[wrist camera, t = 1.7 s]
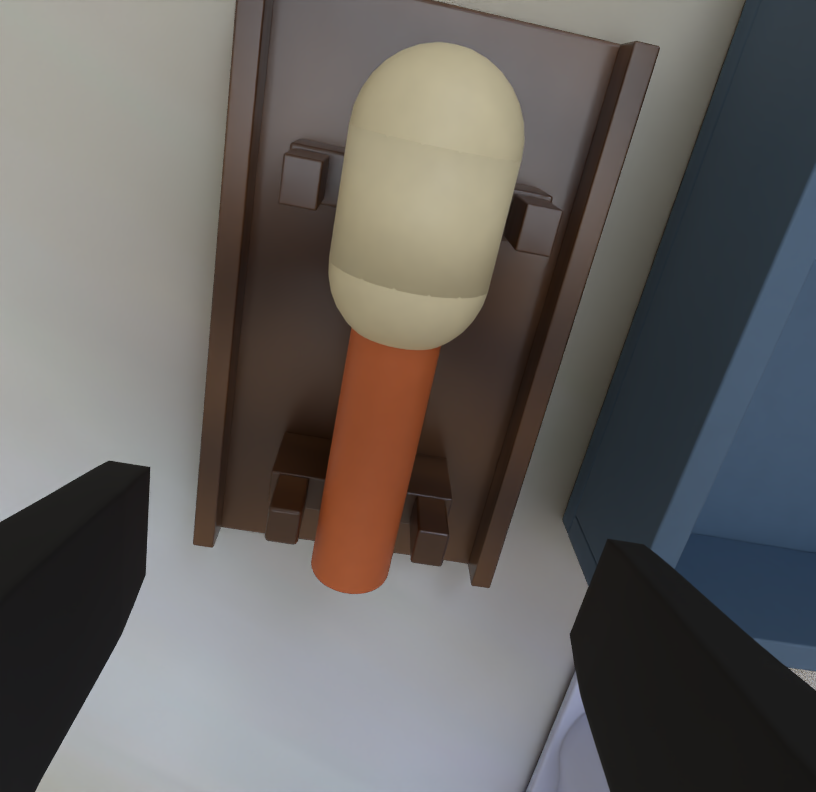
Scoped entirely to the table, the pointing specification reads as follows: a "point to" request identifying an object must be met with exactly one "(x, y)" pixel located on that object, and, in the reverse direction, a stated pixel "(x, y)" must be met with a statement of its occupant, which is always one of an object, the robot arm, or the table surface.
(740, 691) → the robot arm
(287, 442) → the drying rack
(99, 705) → the table surface
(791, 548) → the wash tub
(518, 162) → the bottle brush
